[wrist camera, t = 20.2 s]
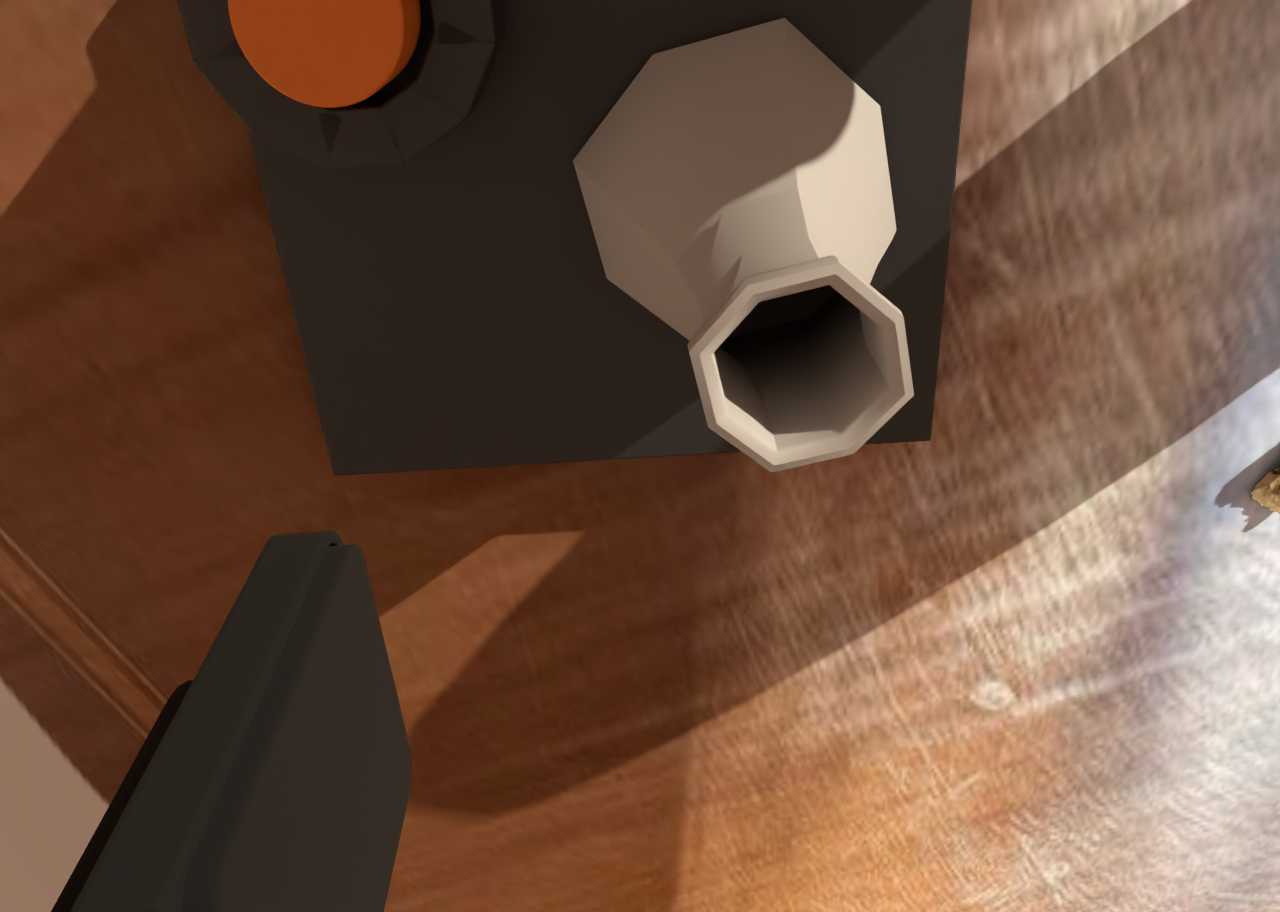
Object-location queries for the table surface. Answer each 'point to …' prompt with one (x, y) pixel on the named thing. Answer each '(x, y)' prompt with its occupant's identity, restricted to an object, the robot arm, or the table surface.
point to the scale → (545, 224)
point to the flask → (757, 237)
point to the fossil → (1269, 491)
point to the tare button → (327, 45)
